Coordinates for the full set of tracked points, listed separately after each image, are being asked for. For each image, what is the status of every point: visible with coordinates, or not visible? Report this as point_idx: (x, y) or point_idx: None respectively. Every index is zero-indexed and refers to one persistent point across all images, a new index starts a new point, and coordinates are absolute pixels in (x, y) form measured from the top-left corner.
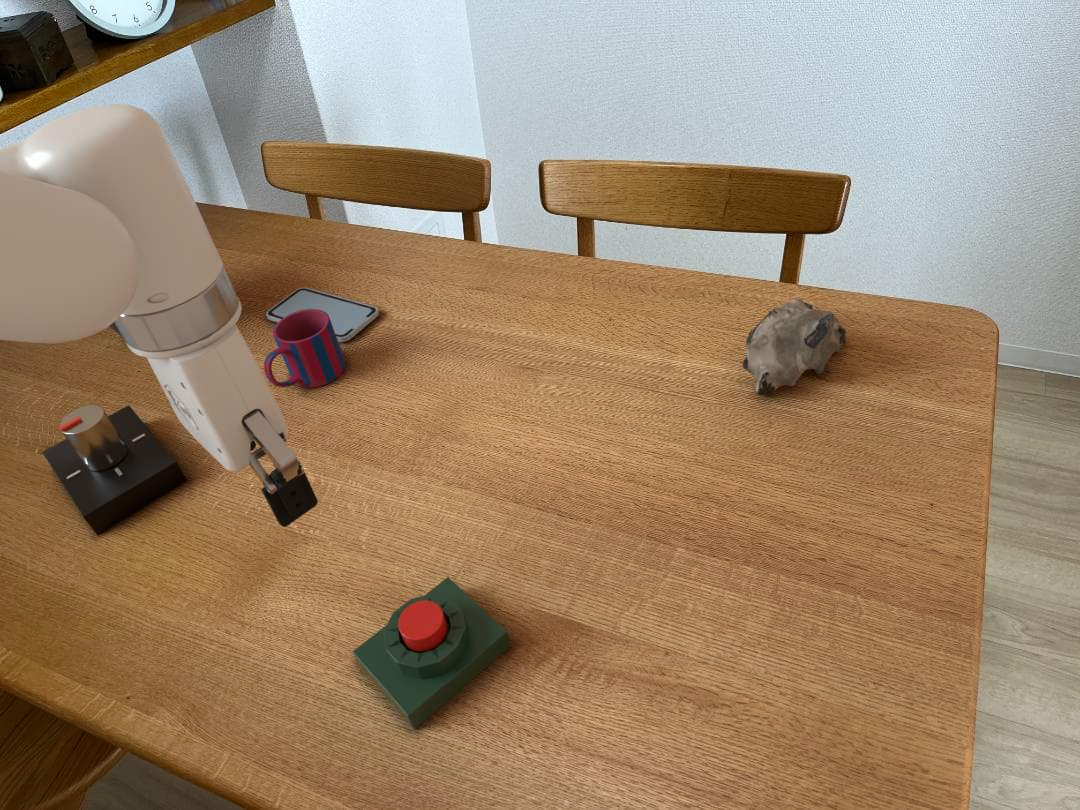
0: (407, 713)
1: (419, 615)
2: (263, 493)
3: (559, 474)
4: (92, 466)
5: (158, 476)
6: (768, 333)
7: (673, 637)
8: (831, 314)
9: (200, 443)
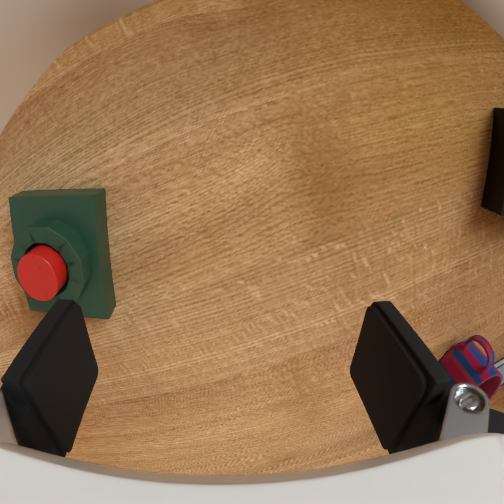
0: (10, 199)
1: (41, 281)
2: (15, 373)
3: (167, 422)
4: None
5: (502, 190)
6: None
7: (4, 360)
8: None
9: (278, 490)
